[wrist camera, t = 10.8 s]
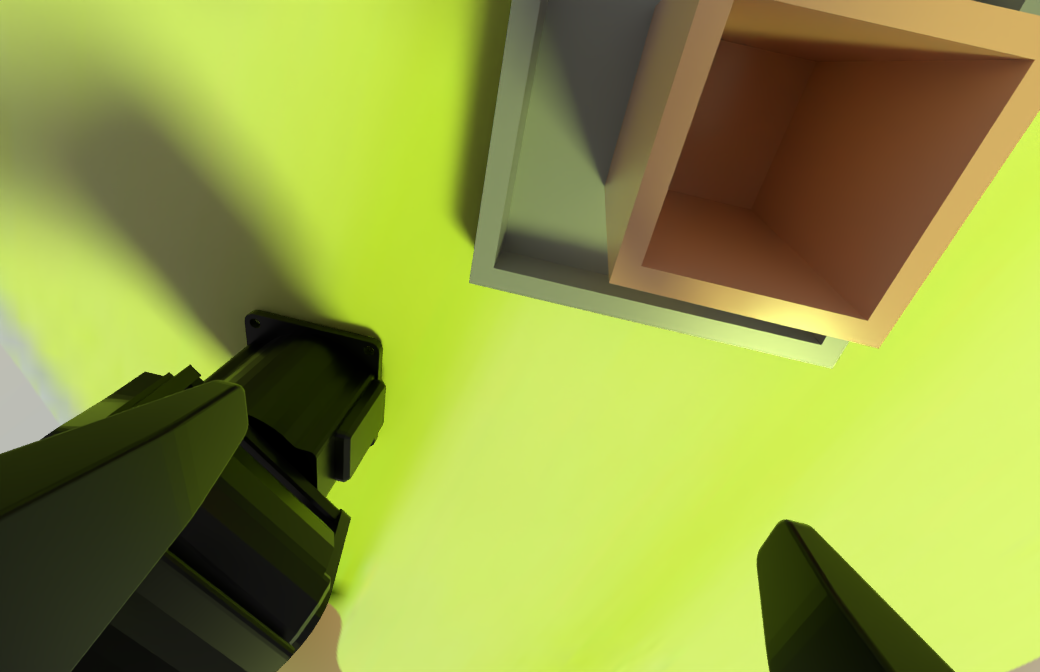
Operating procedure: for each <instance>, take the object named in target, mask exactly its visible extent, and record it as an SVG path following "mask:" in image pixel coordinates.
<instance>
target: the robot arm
mask: <svg viewBox="0 0 1040 672" xmlns="http://www.w3.org/2000/svg"><path fill="white" fill-rule="evenodd" d="M255 319H256V320H258V321H259V322H260V324H259V323H257V322H256V320H255ZM245 328H246V338H247V347H245V348H244V349H243V350H242V351H240V352H239V353H238V354H237V355H235V356H234V357H233V358H232V359H230V360H229V361H228V362H227V363H225V364H224V365H223V366H222V367H220V368H219V369H218V370H217V371H216V372H214V373H213V374H212V375H211V376H209V377H208V378H207V379H206V380H204V381H203V380H202V379H201V378H200V376H201V374H199V373H198V372H197V371H196V370H195V369H194V368H193V367H192V366H191V365H189V366H188V367H186V368H185V369H184V370H182V371H181V372H179V373H178V374H177V375H175V376H173V375H172V374H171V373H170V372H169V373H167V374H166V375H165V376H161V375H157V374H153V373H149V372H144V373H142V374H141V375H139V376H138V377H137V378H135V379H134V380H132V381H131V382H129V383H128V384H126V385H125V386H123V387H122V388H120V389H119V390H117V391H116V392H114V393H113V394H111V395H110V396H108V397H107V398H105V399H104V400H102V401H100V402H99V403H97V404H96V405H94V406H92V407H91V408H89V409H87V410H86V411H84V412H83V413H81V414H79V415H78V416H76V417H74V418H73V419H71V420H69V421H68V422H66V423H65V424H63V425H61V426H60V427H58V428H57V429H55V430H54V431H52V432H51V433H50V434H48V435H46V436H45V437H44V438H42V439H41V440H39V441H36V442H33V443H30V444H28V445H25V446H22V447H19V448H16V449H13V450H10V451H7V452H4V453H2V454H0V672H276V671H278V670H279V668H281V667H282V666H283V664H285V663H286V662H287V661H288V660H289V659H290V658H291V656H292V655H293V654H294V653H295V652H296V651H297V650H298V649H299V648H300V646H301V645H302V644H303V643H304V641H305V640H306V639H307V638H308V636H309V635H310V634H311V632H312V631H313V629H314V628H315V626H316V625H317V623H318V621H319V620H320V618H321V616H322V614H323V612H324V610H325V608H326V606H327V604H328V601H329V598H330V595H331V592H332V588H333V584H334V581H335V577H336V573H337V569H338V565H339V562H340V558H341V554H342V550H343V546H344V542H345V539H346V535H347V531H348V527H349V523H350V520H351V517H350V516H349V515H348V514H346V513H345V512H344V511H343V510H342V509H338V508H337V507H335V506H334V505H333V504H332V503H331V502H330V501H329V500H328V499H327V498H326V496H327V495H328V493H329V491H330V490H331V488H332V487H333V485H334V483H335V482H336V480H337V481H341V482H346V481H347V480H349V479H350V478H351V477H352V475H353V474H354V472H355V470H356V469H357V467H358V465H359V464H360V462H361V460H362V459H363V457H364V455H365V454H366V452H367V450H368V449H369V447H370V446H372V445H373V444H374V443H375V441H376V440H377V437H378V432H379V430H380V428H381V427H382V425H383V422H384V408H385V392H386V386H385V384H384V382H383V381H381V371H382V354H383V348H382V344H381V343H380V342H379V341H378V340H377V339H375V338H372V337H368V336H364V335H359V334H355V333H351V332H347V331H343V330H339V329H335V328H330V327H326V326H322V325H318V324H314V323H310V322H305V321H301V320H297V319H293V318H289V317H285V316H281V315H276V314H272V313H268V312H264V311H260V310H255V311H252V312H251V313H249V314H248V315H247V316H246V317H245ZM367 346H370V347H372V348H373V349H374V351H371V350H369V349H368V347H367ZM757 573H758V582H759V591H760V600H761V609H762V618H763V627H764V636H765V645H766V652H767V659H768V666H769V671H770V672H955V671H954V670H953V669H952V668H951V667H950V666H949V665H948V664H947V663H946V662H945V661H944V660H943V659H942V658H941V657H940V656H939V655H938V654H937V653H936V652H935V651H934V650H933V649H932V648H931V647H930V646H929V645H928V644H927V643H926V642H925V641H924V640H923V639H922V638H921V637H920V636H919V635H918V634H917V633H916V632H915V631H914V630H913V629H912V628H911V627H910V626H909V625H908V624H907V623H906V622H905V621H904V620H903V619H902V618H901V617H900V616H899V615H898V614H897V613H896V612H895V611H894V610H893V609H892V608H891V607H890V606H889V605H888V603H887V602H886V601H885V600H884V599H883V598H882V597H881V596H880V595H879V594H878V593H877V592H876V591H875V590H874V589H873V588H872V587H871V586H870V585H869V584H868V583H867V582H866V581H865V580H864V579H863V578H862V577H861V576H860V575H859V574H858V573H857V572H856V571H855V570H854V569H853V568H852V567H851V566H850V565H849V564H848V563H847V562H846V561H845V560H844V559H843V558H842V557H841V556H840V555H839V554H838V553H837V552H836V551H835V550H834V549H833V548H832V547H831V546H830V545H829V544H828V543H827V542H826V541H825V540H824V539H823V538H822V537H821V536H820V535H819V534H818V533H817V532H816V531H815V530H814V529H813V528H812V527H811V526H809V525H807V524H804V523H799V522H795V521H791V520H787V519H786V520H781V521H780V522H778V523H777V525H776V526H775V528H774V529H773V531H772V532H771V533H770V535H769V536H768V538H767V539H766V541H765V542H764V544H763V545H762V546H761V548H760V550H759V552H758V555H757Z"/></svg>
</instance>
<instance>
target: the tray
mask: <svg viewBox="0 0 1040 672" xmlns="http://www.w3.org/2000/svg"><path fill="white" fill-rule="evenodd" d="M660 1H661V0H512V3H511V9H510V16H509V23H508V29H507V36H506V42H505V49H504V56H503V62H502V69H501V75H500V82H499V89H498V95H497V102H496V108H495V115H494V122H493V128H492V135H491V141H490V148H489V155H488V161H487V168H486V175H485V181H484V188H483V194H482V201H481V208H480V214H479V221H478V227H477V234H476V241H475V247H474V254H473V260H472V267H471V274H470V280H469V283H472V284H476V285H480V286H484V287H489V288H493V289H497V290H501V291H506V292H510V293H514V294H518V295H522V296H527V297H531V298H535V299H539V300H544V301H548V302H552V303H556V304H561V305H565V306H569V307H573V308H577V309H582V310H586V311H590V312H594V313H599V314H603V315H607V316H611V317H616V318H620V319H624V320H628V321H632V322H637V323H641V324H645V325H649V326H654V327H658V328H662V329H666V330H670V331H675V332H679V333H683V334H687V335H692V336H696V337H700V338H704V339H709V340H713V341H717V342H721V343H725V344H730V345H734V346H738V347H742V348H747V349H751V350H755V351H759V352H764V353H768V354H772V355H776V356H780V357H785V358H789V359H793V360H797V361H802V362H806V363H810V364H814V365H819V366H823V367H827V368H831V369H832V368H833V367H834V365H835V364H836V362H837V360H838V359H839V357H840V356H841V354H842V352H843V351H844V349H845V348H846V346H847V344H848V343H849V341H846V340H842V339H838V338H834V337H830V336H825V335H821V334H817V333H813V332H809V331H805V330H801V329H797V328H792V327H788V326H784V325H780V324H776V323H772V322H768V321H764V320H759V319H755V318H751V317H747V316H743V315H739V314H735V313H731V312H726V311H722V310H718V309H714V308H710V307H706V306H702V305H698V304H693V303H689V302H685V301H681V300H677V299H673V298H669V297H665V296H660V295H656V294H652V293H648V292H644V291H640V290H636V289H632V288H627V287H623V286H619V285H615V284H611V283H609V272H608V251H607V231H606V210H605V190H604V186H605V182H606V179H607V175H608V172H609V168H610V165H611V161H612V158H613V154H614V151H615V147H616V143H617V140H618V136H619V133H620V129H621V126H622V122H623V119H624V115H625V112H626V108H627V105H628V101H629V98H630V94H631V90H632V87H633V83H634V80H635V76H636V73H637V69H638V66H639V62H640V59H641V55H642V52H643V48H644V44H645V41H646V37H647V34H648V30H649V27H650V23H651V20H652V16H653V13H654V9H655V6H656V5H657V4H658V3H659V2H660ZM972 1H977V2H981V3H986V4H990V5H994V6H999V7H1003V8H1008V9H1012V10H1017V11H1021V12H1026V13H1030V14H1034V15H1039V16H1040V0H972Z"/></svg>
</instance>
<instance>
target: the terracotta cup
mask: <svg viewBox="0 0 1040 672" xmlns="http://www.w3.org/2000/svg"><path fill="white" fill-rule="evenodd" d="M1039 111H1040V16H1039V15H1034V14H1030V13H1026V12H1021V11H1017V10H1012V9H1008V8H1003V7H999V6H994V5H990V4H986V3H981V2H977V1H972V0H661V1H660V2H659V3H658V4H657V5H656V6H655V9H654V13H653V16H652V20H651V23H650V27H649V30H648V34H647V37H646V41H645V44H644V48H643V52H642V55H641V59H640V62H639V66H638V69H637V73H636V76H635V80H634V83H633V87H632V90H631V94H630V98H629V101H628V105H627V108H626V112H625V115H624V119H623V122H622V126H621V129H620V133H619V136H618V140H617V143H616V147H615V151H614V154H613V158H612V161H611V165H610V168H609V172H608V175H607V179H606V182H605V186H604V190H605V210H606V231H607V251H608V272H609V283H611V284H615V285H619V286H623V287H627V288H632V289H636V290H640V291H644V292H648V293H652V294H656V295H660V296H665V297H669V298H673V299H677V300H681V301H685V302H689V303H693V304H698V305H702V306H706V307H710V308H714V309H718V310H722V311H726V312H731V313H735V314H739V315H743V316H747V317H751V318H755V319H759V320H764V321H768V322H772V323H776V324H780V325H784V326H788V327H792V328H797V329H801V330H805V331H809V332H813V333H817V334H821V335H825V336H830V337H834V338H838V339H842V340H846V341H850V342H854V343H858V344H863V345H867V346H871V347H875V348H879V347H880V346H881V344H882V343H883V341H884V340H885V338H886V337H887V335H888V334H889V333H890V331H891V330H892V328H893V327H894V325H895V324H896V322H897V321H898V319H899V318H900V316H901V315H902V313H903V312H904V310H905V309H906V307H907V306H908V304H909V303H910V301H911V300H912V298H913V297H914V296H915V294H916V293H917V291H918V290H919V288H920V287H921V285H922V284H923V282H924V281H925V279H926V278H927V276H928V275H929V273H930V272H931V270H932V269H933V267H934V266H935V264H936V263H937V261H938V260H939V259H940V257H941V256H942V254H943V253H944V251H945V250H946V248H947V247H948V245H949V244H950V242H951V241H952V239H953V238H954V236H955V235H956V233H957V232H958V230H959V229H960V227H961V226H962V224H963V223H964V222H965V220H966V219H967V217H968V216H969V214H970V213H971V211H972V210H973V208H974V207H975V205H976V204H977V202H978V201H979V199H980V198H981V196H982V195H983V193H984V192H985V190H986V189H987V187H988V186H989V185H990V183H991V182H992V180H993V179H994V177H995V176H996V174H997V173H998V171H999V170H1000V168H1001V167H1002V165H1003V164H1004V162H1005V161H1006V159H1007V158H1008V156H1009V155H1010V153H1011V152H1012V150H1013V149H1014V148H1015V146H1016V145H1017V143H1018V142H1019V140H1020V139H1021V137H1022V136H1023V134H1024V133H1025V131H1026V130H1027V128H1028V127H1029V125H1030V124H1031V122H1032V121H1033V119H1034V118H1035V116H1036V115H1037V113H1038V112H1039Z"/></svg>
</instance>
